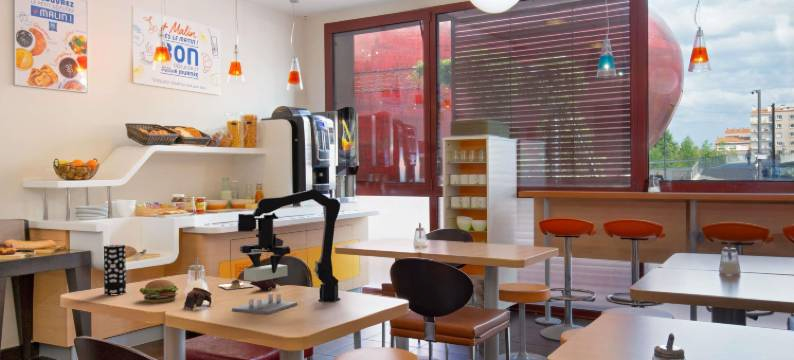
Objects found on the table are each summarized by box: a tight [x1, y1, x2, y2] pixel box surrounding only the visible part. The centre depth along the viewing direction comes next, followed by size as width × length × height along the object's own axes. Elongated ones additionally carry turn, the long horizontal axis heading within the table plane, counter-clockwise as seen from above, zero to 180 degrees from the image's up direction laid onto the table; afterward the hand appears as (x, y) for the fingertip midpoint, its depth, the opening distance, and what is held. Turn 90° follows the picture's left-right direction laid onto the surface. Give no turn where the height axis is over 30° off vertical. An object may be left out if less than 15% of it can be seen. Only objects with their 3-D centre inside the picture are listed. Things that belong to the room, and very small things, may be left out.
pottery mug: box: [183, 287, 212, 310], centre depth 248 cm, size 12×9×8 cm
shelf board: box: [243, 263, 289, 282], centre depth 252 cm, size 6×16×4 cm, turn 144°
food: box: [139, 279, 179, 303], centre depth 264 cm, size 14×14×8 cm
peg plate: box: [231, 293, 298, 315], centre depth 246 cm, size 16×18×4 cm
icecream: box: [249, 277, 279, 291], centre depth 284 cm, size 7×7×15 cm
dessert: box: [218, 277, 254, 291], centre depth 293 cm, size 12×12×5 cm
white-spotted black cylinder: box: [103, 244, 127, 296], centre depth 279 cm, size 8×8×20 cm
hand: (266, 272), depth 252 cm, fingers closed on shelf board, 7 cm apart
